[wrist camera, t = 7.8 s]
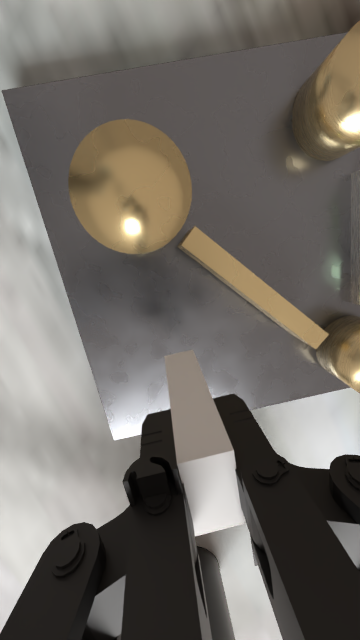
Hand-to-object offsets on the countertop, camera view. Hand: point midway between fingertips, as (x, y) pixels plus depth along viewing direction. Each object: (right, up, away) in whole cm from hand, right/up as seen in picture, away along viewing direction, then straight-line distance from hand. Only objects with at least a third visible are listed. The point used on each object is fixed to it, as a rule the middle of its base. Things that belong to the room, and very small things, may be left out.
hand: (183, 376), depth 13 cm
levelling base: (+4, +7, +6) cm, 10 cm away
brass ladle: (+2, +7, +4) cm, 8 cm away
